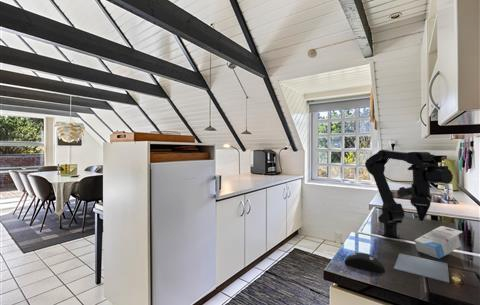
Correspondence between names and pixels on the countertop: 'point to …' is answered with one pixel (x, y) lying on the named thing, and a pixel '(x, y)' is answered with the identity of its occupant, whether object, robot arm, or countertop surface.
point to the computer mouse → (364, 262)
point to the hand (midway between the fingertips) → (421, 218)
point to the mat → (422, 267)
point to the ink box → (438, 242)
